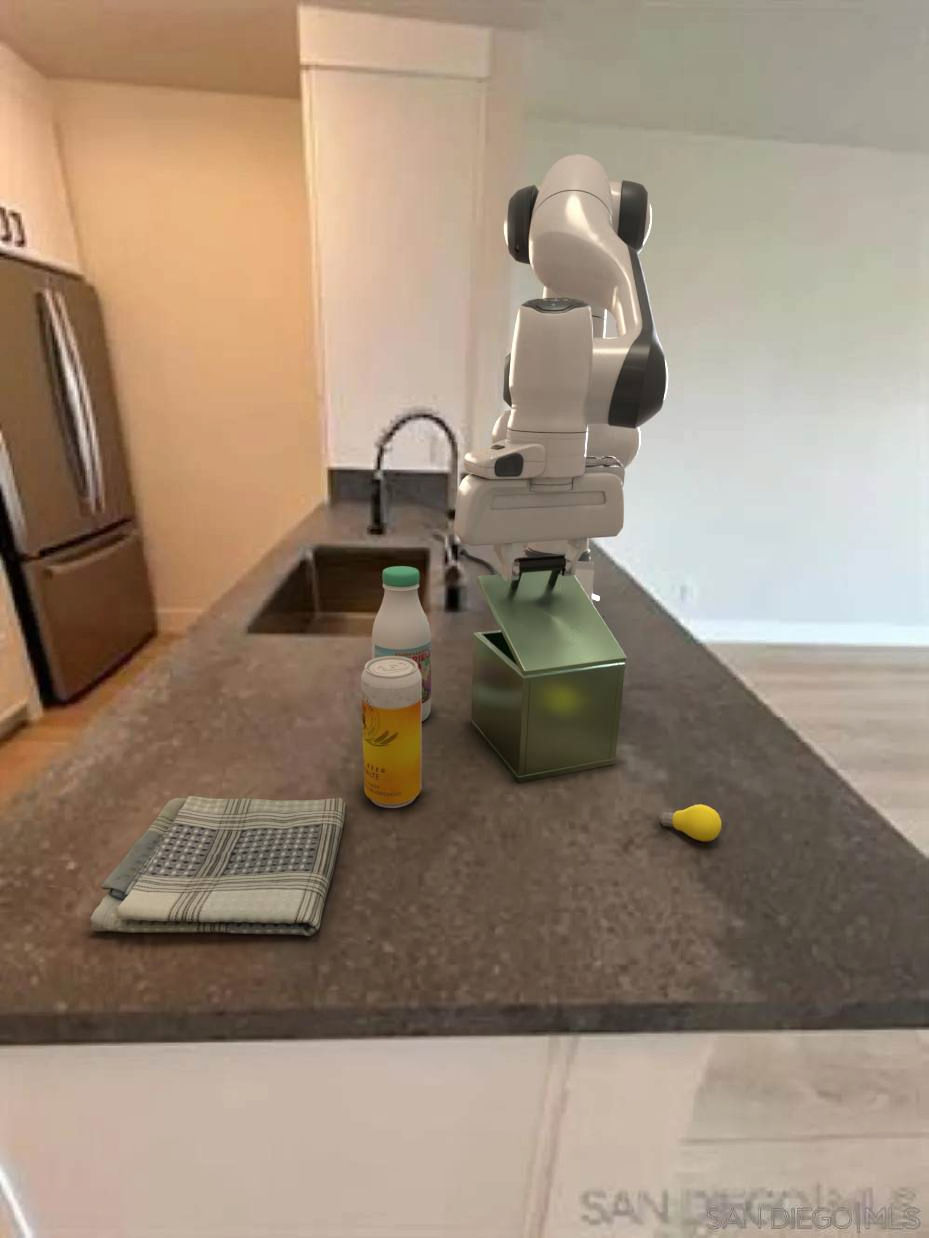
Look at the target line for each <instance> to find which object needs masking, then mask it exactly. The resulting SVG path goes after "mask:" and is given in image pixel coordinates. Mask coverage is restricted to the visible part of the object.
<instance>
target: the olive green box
mask: <svg viewBox="0 0 929 1238" xmlns="http://www.w3.org/2000/svg"><path fill="white" fill-rule="evenodd" d="M472 637H473V639H472V673H471V674H472V676H471V708H470V709H471V710H470V712H471V713H470V726H471V727H472V728H473V729H474V731H475V732H476V733H477V734H478V735H479V737H480V738H481V739H482V740H483V742H484V743H485V744H486V745H487V746H488V748H489V749H490V751H491V752H492V753H493V754H494V756H496V758H497V759H498V760H499V762H500V763H501V764H502V765H503V766H504V767H505V769H506V770H507V772H508V773H509V774H510V775H511V777H513V779H514V780H515V781H516V783H517V784H519V783H525V782H530V781H536V780H541V779H545V778H551V777H557V776H562V775H567V774H571V773H577V772H582V771H586V770H593V769H597V768H602V767H607V766H608V767H609V766H613V765H616V758H617V757H616V756H617V747H618V740H619V739H618V738H619V730H620V729H619V728H620V721H621V719H620V718H621V709H622V701H623V691H624V682H625V672H626V671H625V670H626V662H623V663H615V664H608V665H600V666H593V667H586V668H578V669H571V670H563V671H556V672H549V673H541V674H534V675H526V676H523V675H522V673H521V671H520V669H519V667H518V664H517V662H516V660H515V658H514V656H513V654H512V652H511V650H510V648H509V646H508V644H507V642H506V640H505V638H504V636H503V634H502V632H501V630H500V629H497V630H488V631H479V632H473V635H472Z"/></svg>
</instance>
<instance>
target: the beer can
mask: <svg viewBox="0 0 929 1238" xmlns="http://www.w3.org/2000/svg"><path fill="white" fill-rule="evenodd" d="M360 691H361V719H362V721H361V723H362V725H361V726H362V754H363V755H362V758H363V788H364V789H363V790H364V793H365V796H366V797H367V798H369V800H370V801H371V802H372V803H374V805H376V806H378V807H380V808H385V809H397V808H398V809H399V808H402V807H405V806H408V805H409V804H411V803H413V801H415V800H416V797H418V796H419V795H420V793H421V791H422V771H423V770H422V767H423V766H422V763H423V762H422V759H423V758H422V747H423V743H422V742H423V741H422V740H423V739H422V735H423V733H422V730H423V729H422V728H423V727H422V722H423V721H422V675H421V673H420V671H419V669H418V665H417V663H416V662H415V661H414V660H412V659H410V658H406V657H401V656H384V657H378V658H375V659H372V658H371V659H370V660H368V661H367V662H366V663H365V664H364V669H363V671H362V673H361V675H360Z"/></svg>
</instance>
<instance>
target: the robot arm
mask: <svg viewBox="0 0 929 1238" xmlns="http://www.w3.org/2000/svg"><path fill="white" fill-rule="evenodd" d="M652 212H653V211H652V205H651V202H650V199H649V193H648V190H647V189H646V187H645V186H644V185H643V184H641V183H639V182H635V181H631V180H625V179H622V181H621V182H618V181H611V180H609V177H608V174H607V171H606V170H605V168H604V167H603V165H602V163H600V162H599V161H597V159H595V158H594V157H592V156H590V155H587V154H582V153H574V154H568V155H567V156H564V157H562V158H560V159H559V160H558V161H555V163H554V164H553V165H552V166H551V167H550V168H549V169H548V171H547V173H546V174H545V176H544V179H543V180H542V183H541V185H540V186H536V184H532V185H529V186H525V187H523V188H520V189H518V190H516V191H515V193H514V194H512V196H511V197H510V198H509V200H508V205H507V208H506V211H505V214H504V218H503V234H504V239H505V243H506V246H507V250H508V253H509V255H510V256H511V258H513V260H514V261H515V262H518V263H521V264H525V265H530V267H531V270H532V272H533V273H534V275H535V277H536V278H537V280H538V281H539V282H540V284H542V286H543V288H542V289H543V290H542V295H541V296H542V298H533V299H529V300H526V302H523V303H521V305H520V306H519V308H518V310H517V315H516V320H515V325H514V330H513V337H512V345H511V351H510V353H508V355H507V356H505V357H504V363H503V389H502V398H503V401H504V402H505V403H506V404H507V405H508V406H509V407H510V408H511V409H508V410H505V411H504V412H502V413H501V414H500V415H499V416H498V418H497V419H496V421H495V423H494V426H493V428H492V431H491V444H488V445H485V446H483V447H480V448H478V449H474V450H471V451H469V452H467V453H466V454H465V455H464V459H463V466H464V469H465V471H466V472H468V473H470V474H467V475H466V476H465V477H464V478H463V479H462V480H461V482H460V485H459V487H458V490H457V496H456V502H455V503H456V504H455V514H454V533H455V534H456V536H457V538H458V539H459V540H460V541H461V542H462V543H464V544H466V545H468V546H471V547H475V546H476V547H477V546H490V545H491V546H492V545H493V552H494V553H495V555H496V557H497V558H498V561H499V562H500V564H501V574H502V578H503V579H504V580H505V581H513V580H519V574H518V573H519V572H520V571H519V567H520V566H518V565H516V564H515V563H514V562H512V560H511V559H510V556H509V554H510V553H512V552H513V544H521V543H522V544H523V543H527V545H523V548H524V549H523V554H522V555H523V556H522V557H534V556H548V555H564V556H565V559H566V567H565V569H563V570H560V573H559V574H560V575H562V576H572V575H575V571H576V562H577V561H581V562H591V559H592V558H591V550H590V548H589V544H590V539H598V538H599V539H600V538H614V537H618V535H619V534H620V532H621V531H622V530H623V528H624V522H625V499H624V485H625V476H626V475H625V474H626V470H625V469H627V468H628V467H629V466H630V465H631V464H632V463H633V462H634V460H636V458H637V456H638V454H639V451H640V449H641V440H642V436H641V430H640V427H641V426H642V425H644V424H646V423H647V422H648V421H650V420H651V419H653V418H654V417H655V416H656V415H657V414H658V413H659V412H660V411H661V410H662V409H663V405H664V402H665V399H666V396H667V391H668V384H669V371H668V364H667V361H666V356H665V353H664V348H663V346H662V344H661V342H660V340H659V336H658V334H657V328H656V325H655V320H654V316H653V311H652V306H651V302H650V296H649V292H648V287H647V282H646V278H645V274H644V270H643V266H642V263H641V259H640V257H639V254H640V253H641V252H642V251H643V249H644V245H645V243H646V241H647V239H648V237H649V235H650V232H651V228H652V219H653V213H652ZM607 311H608V312H609V313H611V315H612V316H613V318H614V323H615V328H616V334H617V336H616V337H606V327H607V326H606V325H607ZM460 551H461V552H459V554H460V553H461V554H460V555H464V556H465V557H466V558H467V559H468V560H471V561H474V562H477V563H480V564H482V565H484V566H486V567H487V568H488V569H489V570H490V571H491V573H492V575H498V572H497V569H495V567H494V566H493V565H492V564H491V563H489V562H488V561H487V560H484V559H482V558H479V557H477V556H474V555H471V554H470V553H468V550H467V549H465V548H462V549H461V550H460ZM508 553H509V554H508ZM594 600H595V601H597V602H599V601H600V596H599V595H596V594H595V593H594V588H593V589H592V601H591V602H592V604H593V605H594Z"/></svg>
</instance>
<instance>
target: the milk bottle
mask: <svg viewBox="0 0 929 1238" xmlns="http://www.w3.org/2000/svg"><path fill="white" fill-rule="evenodd" d="M381 578H382V588H383V589H384V595H383V598H382V601H381V605H380V607H379V609H378V611H377V613H376V616H375V619H374V622H373V625H372V632H371V660H372V659H375V658H378V657H384V656H401V657H406V658H410V659H412V660H414V661H415V662H416V663H417V665H418V669H419V671H420V673H421V675H422V722H424V721H425V720H426V719H428V717H429V716H430V714H431V711H432V709H431V708H432V637H431V628H430V624H429V620H428V618H427V615H426V613H425V611H424V609H423V607H422V605H421V602H420V598H419V593H418V588H420V571H419V570H418V568H416V567H412V566H405V565H398V566H397V565H395V566H390V567H386V568H384V569H383V570H382V577H381Z"/></svg>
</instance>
